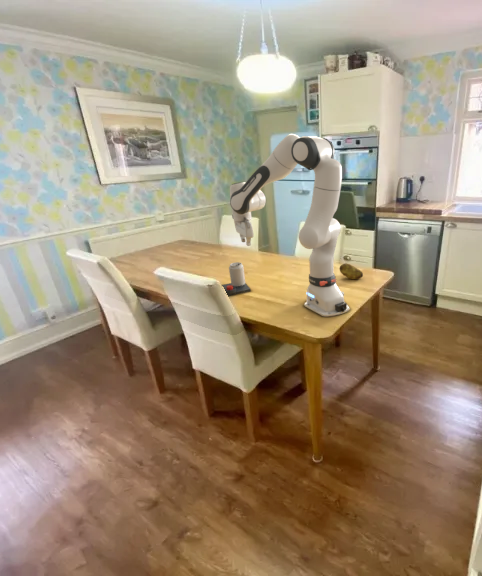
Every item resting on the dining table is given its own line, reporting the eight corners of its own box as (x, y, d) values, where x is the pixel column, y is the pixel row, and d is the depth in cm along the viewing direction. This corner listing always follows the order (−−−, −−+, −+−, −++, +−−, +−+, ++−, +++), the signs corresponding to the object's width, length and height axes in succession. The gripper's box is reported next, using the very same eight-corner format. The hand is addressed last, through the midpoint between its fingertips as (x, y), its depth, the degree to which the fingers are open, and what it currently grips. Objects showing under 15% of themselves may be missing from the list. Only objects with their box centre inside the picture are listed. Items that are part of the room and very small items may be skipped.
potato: (356, 282, 174) (356, 268, 171) (337, 277, 182) (337, 264, 179) (364, 278, 180) (364, 264, 177) (345, 273, 187) (345, 260, 184)
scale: (251, 292, 166) (250, 286, 165) (226, 297, 160) (225, 291, 159) (243, 282, 178) (242, 277, 177) (220, 287, 173) (219, 282, 171)
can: (242, 288, 168) (239, 266, 163) (229, 287, 169) (225, 265, 164) (247, 282, 174) (245, 261, 170) (235, 282, 176) (232, 261, 171)
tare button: (233, 289, 162) (233, 286, 162) (227, 291, 161) (227, 287, 160) (232, 287, 165) (231, 284, 164) (226, 289, 164) (225, 285, 163)
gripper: (254, 218, 151) (258, 246, 156) (243, 213, 168) (246, 239, 173) (241, 220, 148) (245, 248, 153) (231, 214, 165) (235, 240, 170)
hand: (246, 243), depth 163 cm, fingers open, 8 cm apart
